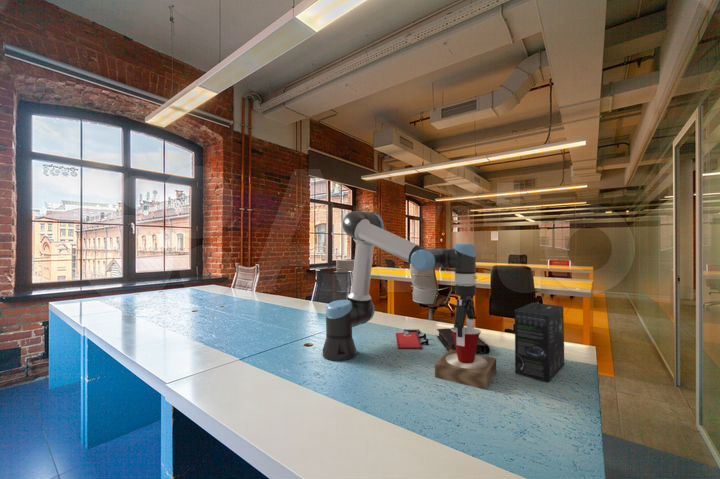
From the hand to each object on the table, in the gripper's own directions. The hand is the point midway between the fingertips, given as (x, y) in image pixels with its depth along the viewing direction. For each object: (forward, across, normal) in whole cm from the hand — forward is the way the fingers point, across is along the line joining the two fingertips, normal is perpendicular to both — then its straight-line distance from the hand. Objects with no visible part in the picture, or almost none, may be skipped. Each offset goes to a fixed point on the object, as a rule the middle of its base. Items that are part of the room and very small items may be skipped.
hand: (465, 340), depth 117 cm
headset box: (+13, +20, -23) cm, 33 cm away
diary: (+13, +32, +11) cm, 36 cm away
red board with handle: (+14, +27, +35) cm, 46 cm away
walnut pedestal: (+13, 0, 0) cm, 13 cm away
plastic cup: (+8, 0, 0) cm, 8 cm away
